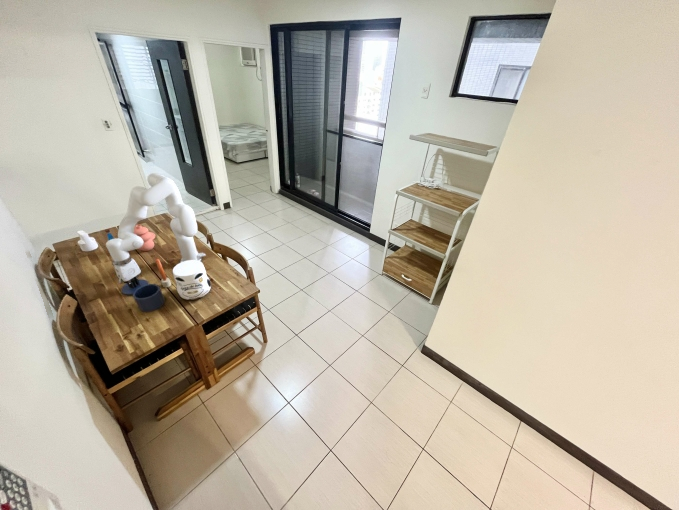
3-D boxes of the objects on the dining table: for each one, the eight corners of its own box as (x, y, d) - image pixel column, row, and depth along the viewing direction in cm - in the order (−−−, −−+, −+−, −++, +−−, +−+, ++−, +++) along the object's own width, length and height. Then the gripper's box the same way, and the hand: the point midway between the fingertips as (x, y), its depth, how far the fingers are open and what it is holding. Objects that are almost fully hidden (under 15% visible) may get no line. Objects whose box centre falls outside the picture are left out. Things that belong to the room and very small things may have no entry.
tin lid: (137, 278, 166) (133, 270, 162) (154, 284, 163) (150, 275, 159) (116, 292, 156) (112, 283, 152) (134, 298, 153) (129, 289, 149)
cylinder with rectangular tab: (100, 247, 191) (92, 232, 184) (85, 252, 185) (76, 237, 178) (94, 243, 195) (86, 228, 188) (79, 248, 188) (70, 233, 182)
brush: (171, 282, 165) (161, 256, 155) (171, 286, 162) (161, 260, 151) (163, 283, 164) (152, 258, 153) (162, 288, 160) (152, 262, 150)
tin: (153, 294, 156) (147, 281, 151) (169, 299, 153) (164, 287, 148) (133, 308, 147) (127, 295, 141) (151, 314, 144) (145, 301, 139)
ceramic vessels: (118, 237, 202) (107, 214, 192) (150, 228, 215) (142, 206, 205) (132, 257, 183) (121, 233, 172) (166, 246, 196) (158, 223, 185)
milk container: (191, 307, 149) (182, 281, 139) (173, 294, 157) (163, 269, 147) (218, 289, 162) (212, 265, 152) (200, 279, 169) (192, 255, 159)
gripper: (113, 270, 141) (126, 296, 151) (141, 254, 154) (152, 279, 164) (102, 266, 143) (116, 293, 153) (131, 251, 156) (142, 276, 166)
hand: (134, 285), depth 158 cm, fingers closed on tin lid, 2 cm apart
